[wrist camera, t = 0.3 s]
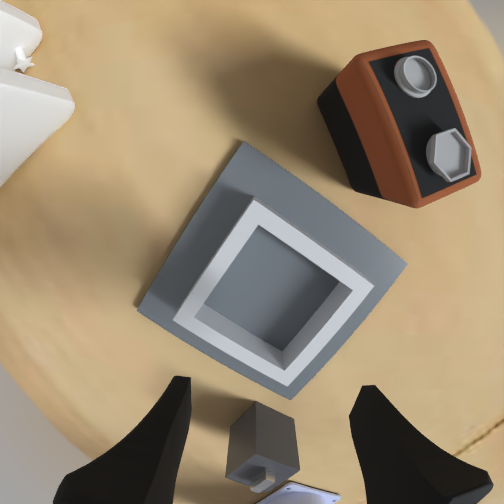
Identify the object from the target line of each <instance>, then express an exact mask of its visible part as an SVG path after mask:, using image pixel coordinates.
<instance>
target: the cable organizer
mask: <svg viewBox="0 0 504 504" xmlns="http://www.w3.org/2000/svg"><path fill="white" fill-rule="evenodd" d="M41 39H42V31H41V28H40V25H39V23H38V21H37V19H35V18H34V17H32V16H30V15H28V14H26V13H25V12H23V11H21V10H19V9H17V8H15V7H13V6H11V5H9V4H7V3H6V2H4V1H2V0H0V187H1V186H2V185H3V184H4V183H5V182H6V181H7V180H8V178H9V177H10V176H11V175H12V174H13V173H14V172H15V171H16V170H17V169H18V168H19V167H20V166H21V164H22V163H23V162H24V161H25V160H26V159H27V158H28V157H29V156H30V155H31V154H32V153H33V152H34V151H35V150H36V149H37V148H38V147H39V146H40V145H41V144H42V143H44V142H45V141H46V140H47V139H48V138H49V137H50V136H51V135H52V134H53V133H54V132H55V131H56V130H58V129H59V128H60V127H61V126H62V125H63V124H64V123H65V122H66V121H67V120H68V119H69V118H70V116H71V115H72V114H73V112H74V110H75V103H74V101H73V99H72V97H71V94H70V92H69V90H68V89H66V88H64V87H61V86H58V85H55V84H52V83H49V82H46V81H43V80H40V79H37V78H34V77H31V76H28V75H25V74H21V73H18V72H15V70H16V69H20V70H21V71H22V72H24V71H25V70H26V68H27V67H31V66H35V65H34V64H33V63H31V62H30V61H31V58H32V56H31V57H29V56H30V55H31V54H32V53H33V52H34V51H35V49H36V48H37V47H38V45H39V44H40V42H41ZM28 57H29V58H28Z"/></svg>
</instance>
